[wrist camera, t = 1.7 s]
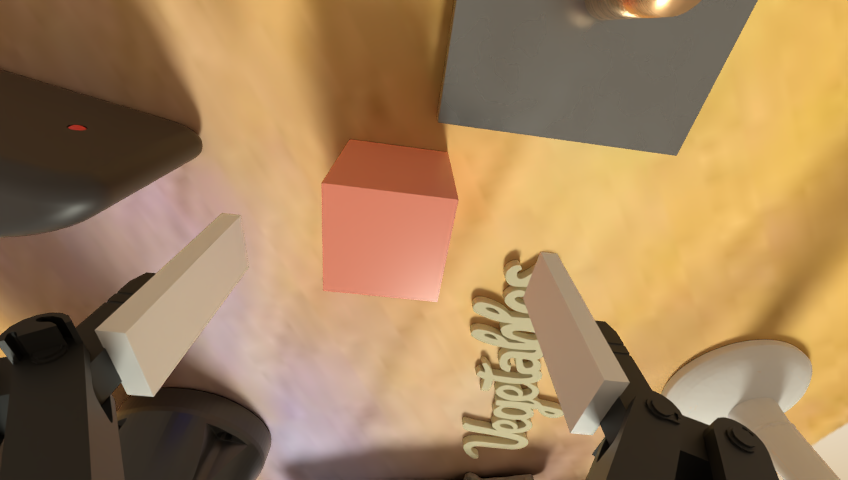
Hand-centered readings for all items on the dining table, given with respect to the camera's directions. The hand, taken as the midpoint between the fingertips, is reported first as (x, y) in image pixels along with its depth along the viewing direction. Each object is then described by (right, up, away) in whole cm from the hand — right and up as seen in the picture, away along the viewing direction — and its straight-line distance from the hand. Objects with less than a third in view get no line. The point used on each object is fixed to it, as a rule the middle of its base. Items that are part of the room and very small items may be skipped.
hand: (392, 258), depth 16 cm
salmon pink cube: (-1, +4, +7) cm, 8 cm away
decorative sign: (+10, -12, +17) cm, 23 cm away
